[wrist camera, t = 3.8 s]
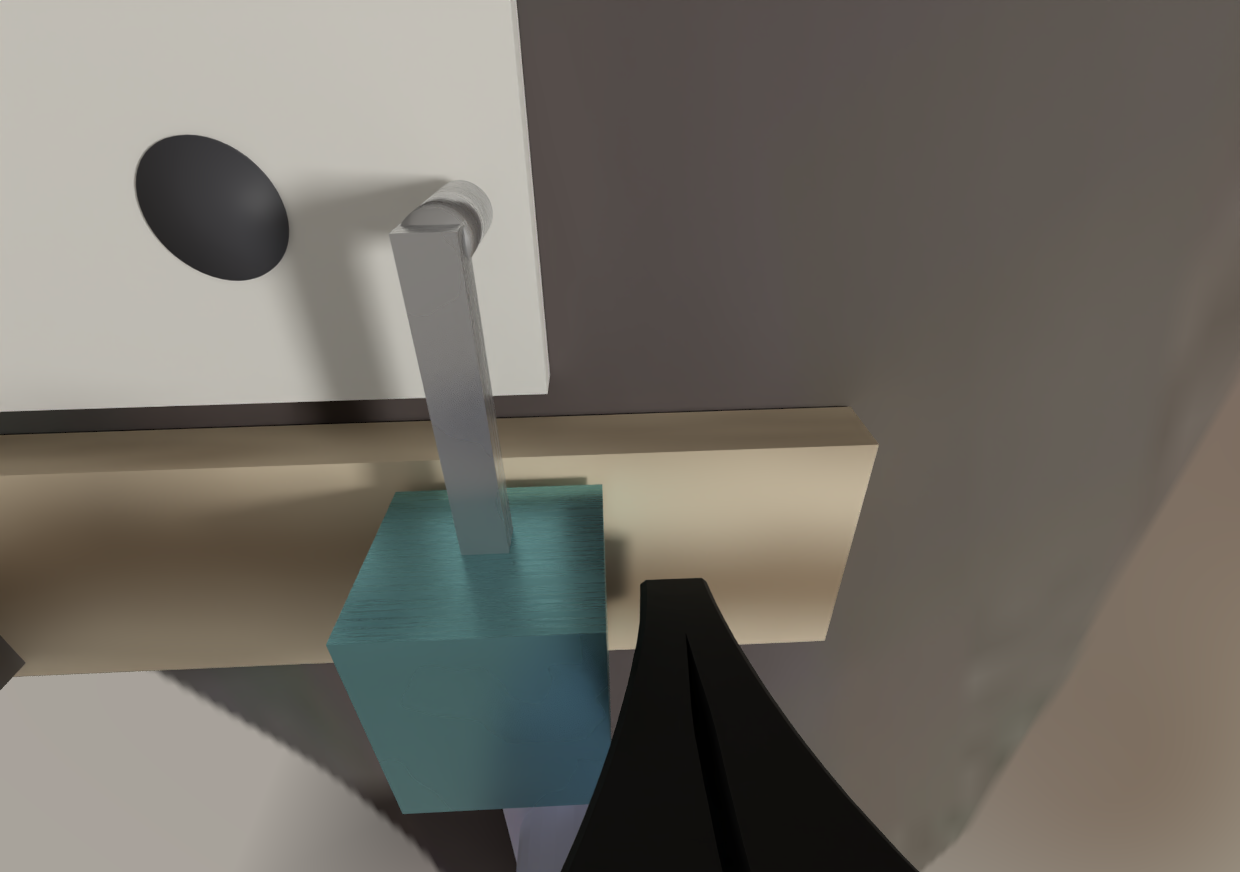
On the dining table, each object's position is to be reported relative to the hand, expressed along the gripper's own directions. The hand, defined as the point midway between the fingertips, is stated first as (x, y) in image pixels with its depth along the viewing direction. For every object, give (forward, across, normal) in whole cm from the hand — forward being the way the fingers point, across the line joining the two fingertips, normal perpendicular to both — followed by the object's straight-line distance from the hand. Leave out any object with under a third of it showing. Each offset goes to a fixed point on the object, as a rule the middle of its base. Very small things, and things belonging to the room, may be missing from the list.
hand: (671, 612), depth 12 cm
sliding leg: (+2, +3, -3) cm, 5 cm away
